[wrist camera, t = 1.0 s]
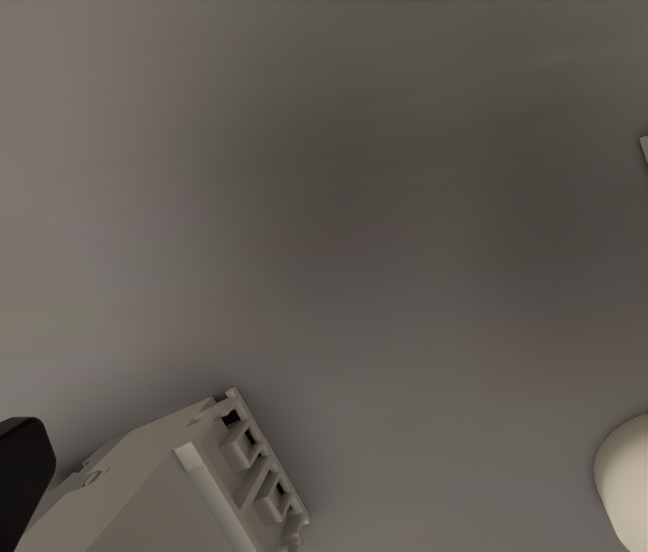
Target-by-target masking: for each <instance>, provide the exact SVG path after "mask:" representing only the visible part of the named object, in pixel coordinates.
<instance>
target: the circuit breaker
mask: <svg viewBox="0 0 648 552" xmlns="http://www.w3.org/2000/svg"><path fill="white" fill-rule="evenodd" d="M225 394H226V395H227V397H228V398H227V399H225V400H222V401H220V402H218V403H216V401H215V399H214V398H213V396H211V397H209V398H207V399H204V400H202V401H200V402H197V403H195V404H193V405H190V406H188V407H186V408H183V409H181V410H179V411H176V412H174V413H172V414H169V415H167V416H165V417H162V418H160V419H157V420H155V421H153V422H150V423H148V424H146V425H143V426H141V427H139V428H136V429H134V430H132V431H129V432H127V433H125V434H122V435H120V436H118V437H115V438H113V439H111V440H108V441H107V442H105V443H104V444H103V445H102V446H101V447H100V448H99V449H97V450H96V451H95V452H94V453H93V454H92V455H91V456H90V457H89V458H88V459H87V460H86V461H85V462H83V463H82V464H83V466H84V468H83V469H82V470H81V471H80V472H79V473H75V472H73V473H72V474H71V475H69V476H68V477H67V478H66V479H65V480H64V481H63V482H62V483H61V484H60V485H59V486H57V487H56V488H55V489H52V490H50V491H47V492H45V493H44V494H43V496H42V498H41V500H40V502H39V504H38V506H37V508H36V510H35V512H34V514H33V516H32V518H31V520H30V522H29V524H28V526H27V527H26V529H25V531H24V533H23V535H22V537H21V539H20V541H19V543H18V545H17V547H16V549H15V551H14V552H300V549H301V546H302V544H303V540H302V538H301V536H300V535H299V534H300V531H301V528H302V526H303V525H305V524H309V523H310V520H311V516H310V514H309V513H308V511H307V509H306V508H305V506H304V504H303V502H302V501H301V499H300V497H299V495H298V494H297V492H296V490H295V488H294V487H293V485H292V483H291V482H290V480H289V478H288V476H287V475H286V473H285V471H284V469H283V468H282V466H281V464H280V463H279V461H278V459H277V457H276V456H275V454H274V452H273V450H272V449H271V447H270V445H269V443H268V442H267V440H266V438H265V437H264V435H263V433H262V431H261V430H260V428H259V426H258V424H257V423H256V421H255V419H254V418H253V416H252V414H251V412H250V411H249V409H248V407H247V405H246V404H245V402H244V400H243V399H242V397H241V395H240V393H239V392H238V390H237V388H236V386H235V387H233V388H230V389H228V390H227V391H226V393H225ZM231 410H236V412H237V413H238V415H239V417H240V420H238V421H236V422H233V423H231V424H228V425H226V426H225V424H224V422H223V421H222V419H221V417H223V416H226V415H228V414H229V413H230V411H231ZM247 429H248V430H249V431H250V433H251V435H252V437H253V438H254V440H255V442H256V443H255V444H251V443H250V441H249V439H248V438H247V436H246V434H245V432H246V430H247ZM259 452H260V453H261V455H262V456H258V454H259ZM257 456H258V457H257ZM269 469H270V471H271V472H269V473H268V471H269ZM278 481H279V483H280V485H281V486H282V488H283V490H284V492H285V493H282V494H280V492H279V491H278V489H277V487H276V485H277V483H278ZM290 504H291V506H292V507H289V506H290Z"/></svg>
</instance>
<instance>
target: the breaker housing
mask: <svg viewBox="0 0 648 552" xmlns="http://www.w3.org/2000/svg"><path fill="white" fill-rule="evenodd" d="M639 140H640V143H641V146H642V149H643V152H644V155H645V158H646V161H647V164H648V135H647V136H644V137H642V138H639Z"/></svg>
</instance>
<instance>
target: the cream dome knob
mask: <svg viewBox="0 0 648 552" xmlns="http://www.w3.org/2000/svg"><path fill="white" fill-rule="evenodd" d="M594 480H595V484H596V487H597V490H598V493H599V495H600V497H601V500H602V502H603V504H604V507H605V509H606V511H607V514H608V516H609V518H610V521H611V523H612V525H613V528H614V530H615V532H616V534H617V536H618V538H619V539H620V540H621V542H622V543H623V544H624V546H625V547H626V548H627V549H628V550H629V551H630V552H648V413H646V414H643V415H640V416H637V417H635V418H633V419H631V420H628V421H627V422H625V423H623V424H622V425H620V426H619V427H618V428H616V429H615V430H614V431H613V432H612V433H611V434H610V435H609V436H608V437H607V438H606V439H605V440H604V442H603V443H602V445H601V447H600V448H599V450H598V452H597V455H596V458H595V463H594Z"/></svg>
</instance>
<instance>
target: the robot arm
mask: <svg viewBox="0 0 648 552" xmlns="http://www.w3.org/2000/svg"><path fill="white" fill-rule="evenodd" d="M55 469H56V457H55V454H54V451H53V448H52V446H51V443H50V440H49V438H48V435H47V432H46V429H45V427H44V424H43V423H42V422H41V421H40V420H39V419H38V418H36V417H12V418H9V419H7V420H5V421H2V422H0V552H14V551H15V549H16V547H17V545H18V543H19V541H20V539H21V537H22V535H23V533H24V531H25V529H26V527H27V526H28V524H29V522H30V520H31V518H32V516H33V514H34V512H35V510H36V508H37V506H38V504H39V502H40V500H41V498H42V496H43V494H44V493H45V491H46V489H47V487H48V485H49V483H50V481H51V479H52V477H53V475H54V473H55Z"/></svg>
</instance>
